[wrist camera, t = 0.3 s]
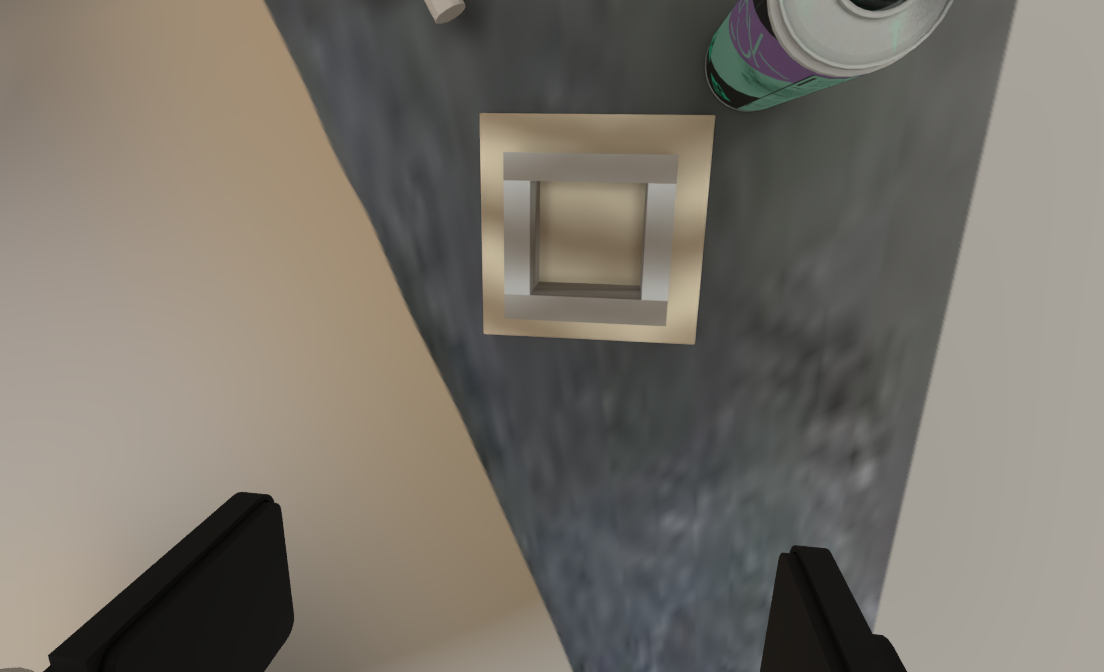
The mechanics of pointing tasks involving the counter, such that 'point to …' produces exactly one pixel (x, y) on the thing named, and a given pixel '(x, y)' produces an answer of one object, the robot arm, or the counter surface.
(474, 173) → the counter surface
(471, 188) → the counter surface
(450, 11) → the pipe connector
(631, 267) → the collar block
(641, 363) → the counter surface
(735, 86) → the spray can
